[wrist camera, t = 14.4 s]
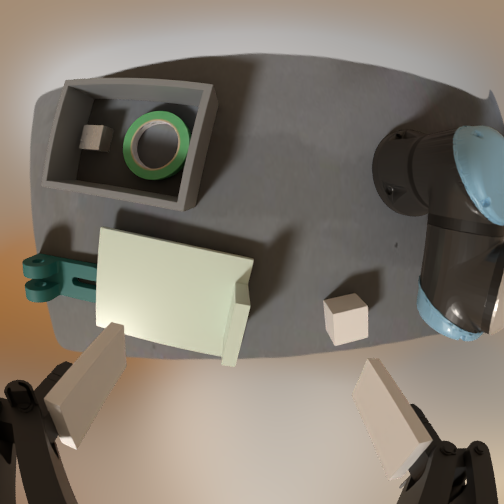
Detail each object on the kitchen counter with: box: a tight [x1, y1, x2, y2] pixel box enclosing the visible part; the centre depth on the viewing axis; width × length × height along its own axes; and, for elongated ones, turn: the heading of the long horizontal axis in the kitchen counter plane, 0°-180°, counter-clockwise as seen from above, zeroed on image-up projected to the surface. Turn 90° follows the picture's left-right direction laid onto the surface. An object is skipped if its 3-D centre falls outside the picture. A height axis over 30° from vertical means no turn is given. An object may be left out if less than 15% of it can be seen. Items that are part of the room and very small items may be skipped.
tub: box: [41, 78, 219, 212], centre depth 36 cm, size 24×17×9 cm
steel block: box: [79, 125, 114, 152], centre depth 38 cm, size 4×4×4 cm
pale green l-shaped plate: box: [96, 226, 254, 367], centre depth 41 cm, size 25×18×11 cm
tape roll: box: [123, 111, 192, 180], centre depth 40 cm, size 11×11×3 cm
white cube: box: [323, 293, 368, 346], centre depth 45 cm, size 6×6×6 cm
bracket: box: [23, 253, 97, 303], centre depth 42 cm, size 18×7×8 cm, turn 82°
